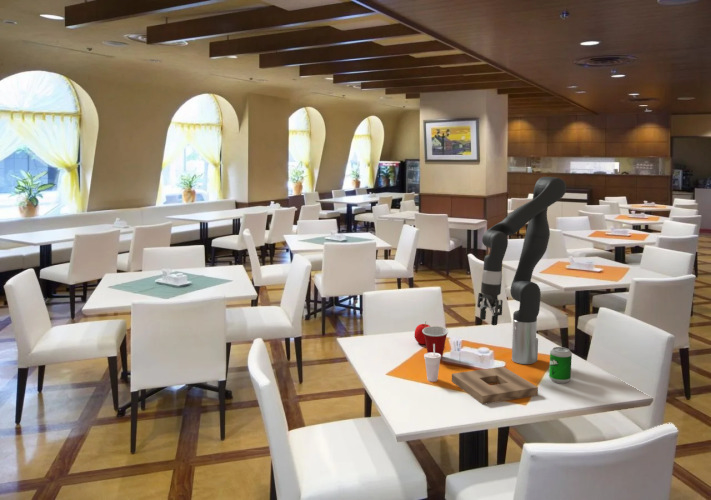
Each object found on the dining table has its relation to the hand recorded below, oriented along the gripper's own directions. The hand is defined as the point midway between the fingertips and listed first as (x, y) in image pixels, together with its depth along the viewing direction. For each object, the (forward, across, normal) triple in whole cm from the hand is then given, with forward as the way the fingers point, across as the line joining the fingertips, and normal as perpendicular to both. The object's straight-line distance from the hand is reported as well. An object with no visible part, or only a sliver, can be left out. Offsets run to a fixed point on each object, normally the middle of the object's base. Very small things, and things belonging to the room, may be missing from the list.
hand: (488, 322), depth 234 cm
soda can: (+17, -22, -19) cm, 34 cm away
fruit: (+19, +36, +9) cm, 42 cm away
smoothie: (+20, -5, +25) cm, 33 cm away
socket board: (+19, -20, +8) cm, 29 cm away
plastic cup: (+19, +17, +13) cm, 29 cm away
